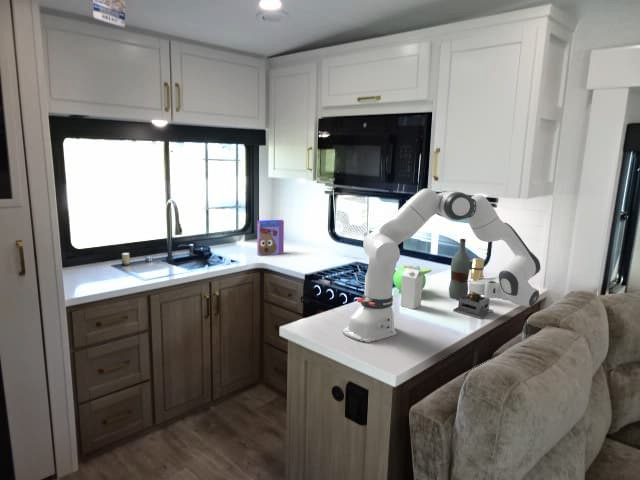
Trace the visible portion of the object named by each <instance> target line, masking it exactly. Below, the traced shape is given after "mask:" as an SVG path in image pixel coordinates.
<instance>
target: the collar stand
mask: <svg viewBox="0 0 640 480" xmlns="http://www.w3.org/2000/svg"><path fill="white" fill-rule="evenodd" d="M490 300H491V298H486V297H484V296H483V295H481V299H480V301H479V302H477V301H473V300H469V293H468V294H467V295H465V296H462V297H460V298H459V300H458V303H457V305H458V306H457V307H456V308H453V312H455V313H457V314H458V313H459V314H461V315H466V316H468V317H472V318H475V319H479V320H481V319H483V318H485V317H488V316H489V315H491V314H492V313H494V309H492V308H491V309H490V302H491V301H490ZM468 305H471V306H475V307H476V308H474V307H470V306H468ZM490 313H491V314H490ZM488 314H489V315H488Z"/></svg>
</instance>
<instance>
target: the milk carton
mask: <svg viewBox="0 0 640 480" xmlns="http://www.w3.org/2000/svg"><path fill="white" fill-rule="evenodd" d="M411 266H412V265H408V266H406V269H405V271H404V273H403V275H402V286H401V291H400V303H399V306H400V307H405V308H409V309H412V310H415V309H416V308H418V307H420V306H421V305H422V292H423V289H422V280H423V275H422V273H421V271H420V269H421V268H416V266H413V267H411Z"/></svg>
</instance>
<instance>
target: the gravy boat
mask: <svg viewBox="0 0 640 480" xmlns="http://www.w3.org/2000/svg"><path fill="white" fill-rule="evenodd" d="M406 266H409V265H408V264H403V266H401V267H398V268H397V269H395V271H394V276H393V284H394V286H395V287H396V289H398V291H400V292H401V286H402V275H403V273H404V271H405V269H406ZM410 266H411V267H414V266H413V265H410ZM415 267H416V268H420V266H419V265H416V266H415ZM420 271H421V273H422V275H423V280H422V290H423V289H424V288H425V286H426V283H427V280H426V274H429V273H430V272H433V271H432V269H430V268H429V269H427V268H425V269H424V268H423V269H421V268H420Z"/></svg>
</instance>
